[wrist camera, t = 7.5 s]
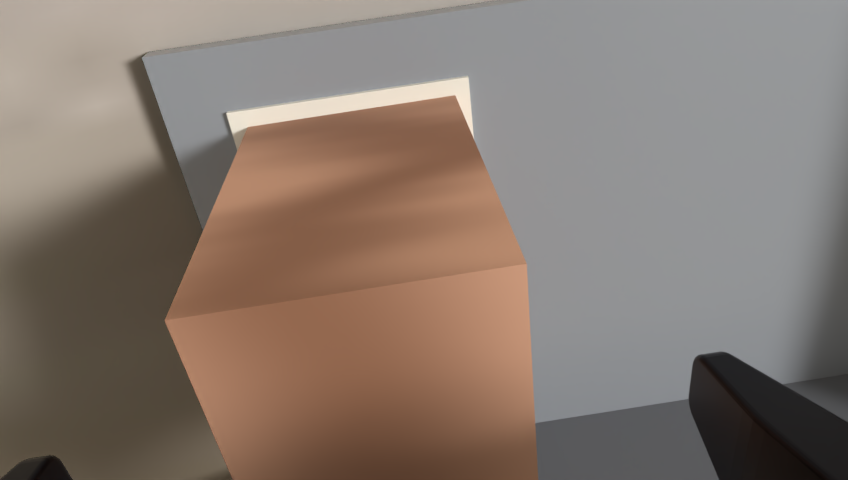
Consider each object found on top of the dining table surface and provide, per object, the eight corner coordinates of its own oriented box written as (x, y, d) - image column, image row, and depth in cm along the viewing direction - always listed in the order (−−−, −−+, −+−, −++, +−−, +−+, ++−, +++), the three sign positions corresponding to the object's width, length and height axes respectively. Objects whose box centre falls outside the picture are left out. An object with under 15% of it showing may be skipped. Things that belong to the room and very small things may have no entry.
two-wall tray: (922, 381, 18) (1030, 479, 15) (295, 479, 18) (283, 599, 15) (1099, -89, 12) (1339, -75, 9) (148, 52, 12) (78, 113, 9)
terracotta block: (454, 94, 12) (532, 275, 7) (480, 337, 15) (547, 594, 10) (247, 127, 12) (158, 334, 7) (315, 363, 15) (291, 636, 10)
